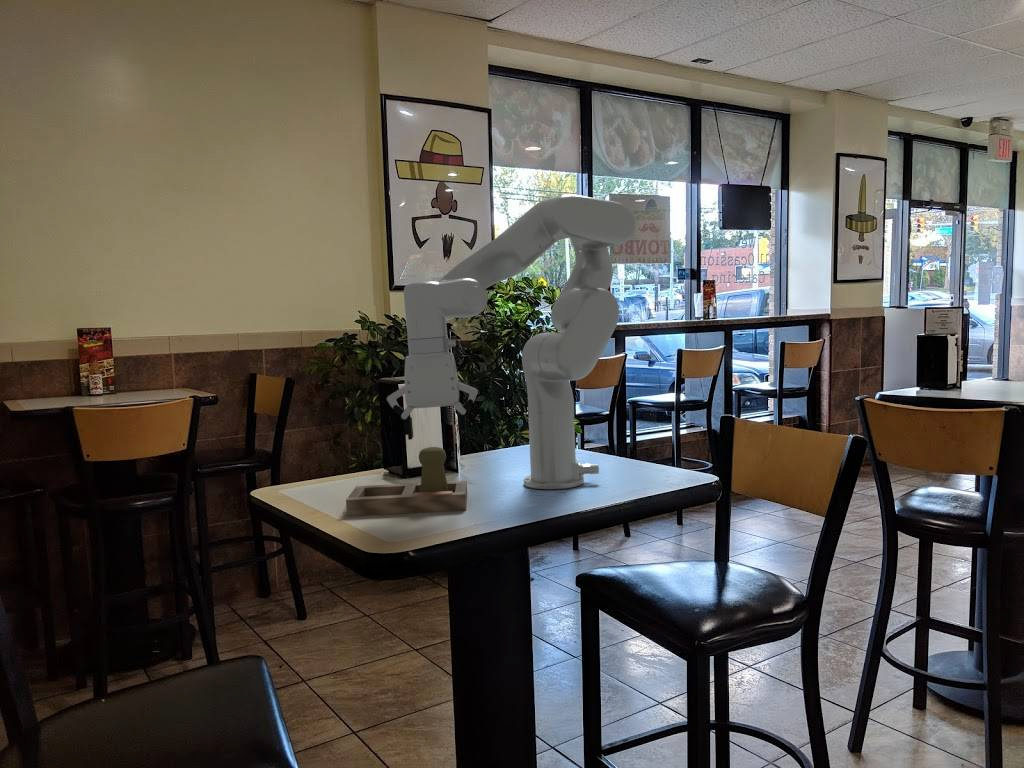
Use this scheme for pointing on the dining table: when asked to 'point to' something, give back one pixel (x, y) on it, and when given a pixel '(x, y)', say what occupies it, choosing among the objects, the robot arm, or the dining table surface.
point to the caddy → (405, 499)
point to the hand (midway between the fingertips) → (436, 436)
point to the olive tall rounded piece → (433, 470)
